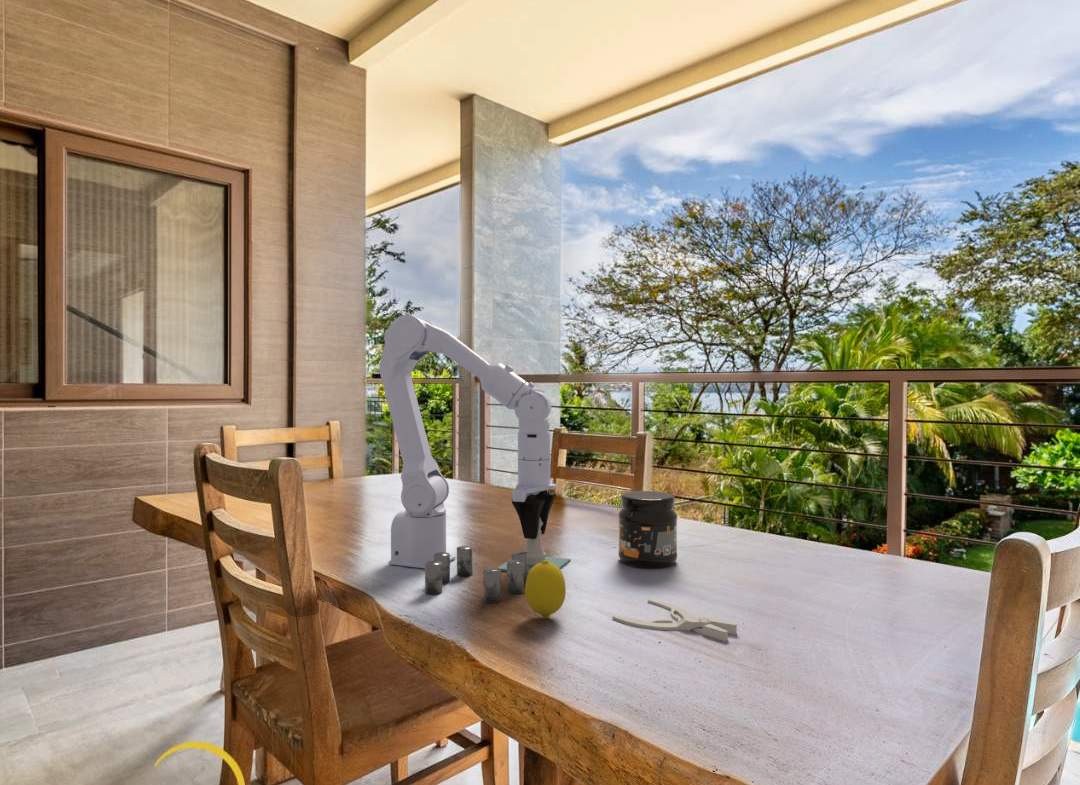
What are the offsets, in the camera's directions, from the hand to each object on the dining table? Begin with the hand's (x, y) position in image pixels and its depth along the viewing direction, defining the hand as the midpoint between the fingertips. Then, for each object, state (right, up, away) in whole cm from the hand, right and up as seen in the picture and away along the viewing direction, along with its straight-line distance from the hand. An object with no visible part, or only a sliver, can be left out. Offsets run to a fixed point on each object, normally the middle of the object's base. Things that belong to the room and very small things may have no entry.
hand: (534, 535), depth 113 cm
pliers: (+20, -6, -27) cm, 34 cm away
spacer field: (-9, -5, -11) cm, 16 cm away
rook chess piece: (0, -5, 0) cm, 5 cm away
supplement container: (+20, -5, +3) cm, 21 cm away
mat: (0, -5, 0) cm, 5 cm away
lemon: (+2, -6, -25) cm, 26 cm away
